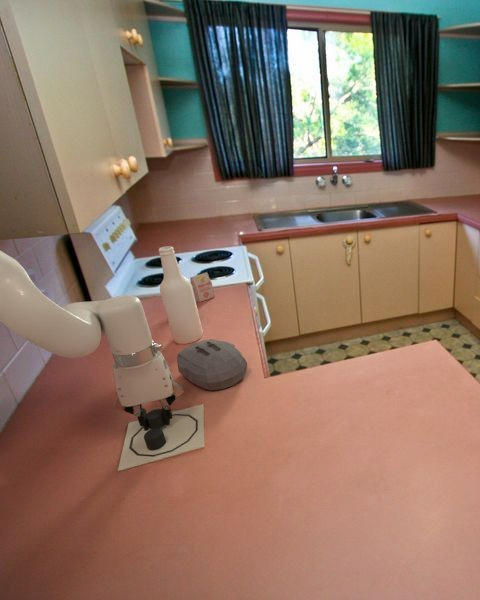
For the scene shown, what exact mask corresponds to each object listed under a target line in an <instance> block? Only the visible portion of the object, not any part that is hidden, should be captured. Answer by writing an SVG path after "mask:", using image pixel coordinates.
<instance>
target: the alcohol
mask: <svg viewBox="0 0 480 600" xmlns="http://www.w3.org/2000/svg"><path fill="white" fill-rule="evenodd" d="M174 248H175V247H173V246H171V245H167V246H162V247H159V248H158V252H159V253H158V254H159V256H160V261H161V267H162V273H163V279H162V281H161V282H160V285H159V293H160V297H161V300H162V305H163V309H164V312H165V314H166V319H167V322H168V327H169V330H170V333H171V337H172V340H173V342H175V343H176V344H178V345H188V344H192V343H196V342H197V341H199V340H201V339H202V337H203V334H204V330H203V326H202V322H201V317H200V314H199V310H198V307H197V306H198V305H197V302H196V301H195V297H194V293H193V289H192V285H191V283H190V280H189V279H188V278H187V277H185V276H184V275H183V273H182V271H181V269H180V266H179V263H178V260H177V257H176V255H175V253H176V252H175V249H174Z"/></svg>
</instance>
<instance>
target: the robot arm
mask: <svg viewBox="0 0 480 600" xmlns="http://www.w3.org/2000/svg"><path fill="white" fill-rule="evenodd" d="M0 323H1V324H3V325H4V327H6V328H7V329H9V330H10V331H12V332H13V333H14V334H16V335H17V336H19V337H21V338H22V339H24V340H26V341H27V342H29V343H31V344H33V345H35V346H37V347H39V348H41V349H43V350H45V351H47V352H48V353H51V354H53V355H55V356H58V357H61V358H64V359H82V358H85V357H87V356H89V355H91V354H93V353H94V352H95V351H96V350H97V349H98V347H99V346H100V344H101V341H102V335H104V336H105V337H106V340H107V343H108V346H109V349H110V352H111V355H112V357H113V363H112V371H113V381H114V385H115V390H116V394H117V396H116V399H115V401H114V404H113V407H112V409H113V410H115V411H123V412H125V413H128V414H131V415H132V416H134V417H135V418H137V421H139V424H140V426H143V428H144V430H145V431H147V430H148V429H149V426H148V423H147V420H146V414H147V413H148V412H147V409H146V408H145V407H143V404H147V403H151V402H155V401H159V403H160V405H161V407H162V408H161V409H162V414H163V418H164V421H165V424H166V425H170V419H172V417H173V416H172V412H173V411H172V409H171V406H172V404H174V402H175V401H176V399H177V398H179V397H180V396H181V395H183V394H184V391H185V390H184V387H183V386H182V385H180V384H179V383H178V382H176V381H175V380H174V379H173V375H172V373H171V370H170V367H169V365H168V363H167V360H166V359H165V357H164V355H163V353H162V352H161V351H162V350H164V345H163V343H156V342H155V340H153V336H152V332H151V330H150V327H149V322H148V319H147V316H146V313H145V310H144V306H143V304H142V301H141V299H140V298H138V297H137V296H135V295H130V294H129V295H128V294H127V295H126V294H125V295H118V296H114V297H110V298H108V299H104V300H103V299H102V300H94V301H93V300H92V301H79V302H78V301H77V302H71V303H67V304H65V305H63V306H60V305H58V304H57V303H55V302H54V301H53V300H51V299H50V298H49V297H48V296H46V295H45V294H44V292H42V291H41V290H40V289H39V288H38V287H37V286H36V285H35V283H34V282H33V280H32V279H31V277H30V276H29V274H28V272H27V271H26V269H25V268H24V266H22V265H21V264H20V262H19V261H18V260H17V259H15V258H13V257H12V256H10V255H8V254H7V253H5V252H4V251H2V250H0Z"/></svg>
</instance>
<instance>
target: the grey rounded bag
mask: <svg viewBox="0 0 480 600" xmlns="http://www.w3.org/2000/svg"><path fill="white" fill-rule="evenodd" d="M176 363H177V369H178V373H180V374H181V375H182V376H183V377H184V378H185V379H187V380H188V381H190V382H191V383H193V384H194V385H196V386H197V387H200V388H202V389H205V390H207V391H217V390H219V391H220V390H224V389H227V388H230V387H233V386H235V385H237V384H238V383H239V382H240V381H242V380H243V379H244V378H245V376H246V373H247V369H248V362H247V360H246V358H245V357H244V356H243V353H242V352H241V351H240V350H239V349H237V347H235V345H234V344H233V343H231V342H228V341H224V340H217V339H212V338H210V339H204V340H201V341H199V342H194V343H193V344H191V345H189V346H186V347H185V348H183V349H181V350H180V351H179V352H178V353H177V356H176Z"/></svg>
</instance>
